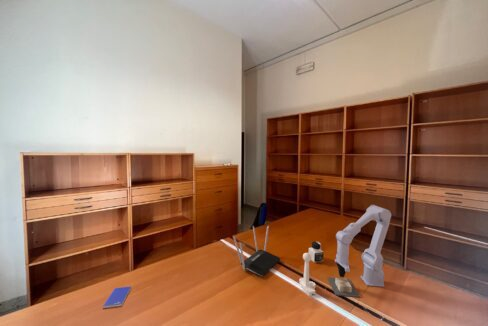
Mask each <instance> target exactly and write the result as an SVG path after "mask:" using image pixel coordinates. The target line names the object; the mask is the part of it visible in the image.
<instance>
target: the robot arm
mask: <svg viewBox="0 0 488 326" xmlns="http://www.w3.org/2000/svg"><path fill="white" fill-rule="evenodd" d="M391 219H392V213H391V211H390V210H389V209H386V208H384V207H380V206H377V205H376V204H370V206H369V207H367V208H366V211H365V213H364V214H363V215H361V217H360V218H359V219H358V220H357V221H356V222H351V223H349V224H348V225H347V226H346V227H344V229H343V230H338V231H337V232H336V234H335V238H336V242H337V245H336V246H337V250H336V254H335V259H334V263H335V264H336V266H337V271H338V275H339V278H345V276H346V273H350V270H351V269H350V265H349V264H350V262H349V257H350V256H349V252H350V244H351V243H352V241H353V240H354V237H355V236H356V235H358V233H361V228H363V227H364V226H365V225H367V224H368V223H370V221H371V222H372V221H375V222H376V226H375V228H374V229H375V230H374V232H373V235H372V238H371V242H370V245H369V247H368V248H365V249H364V252H362V254H361V256H360V257H361V260H362V264H363V275H360V279H361V280H362V282H364V284H365V285H366V286H369V287H370V286H371V287H381V288H382V287H385V272H384V269H383V265H384V257H383V255H382V253H381V251H382V248H383V245H384V242H385V239H386V236H387V232H388V230H389V227H390V223H391V222H390V221H391Z"/></svg>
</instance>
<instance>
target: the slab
mask: <svg viewBox="0 0 488 326" xmlns="http://www.w3.org/2000/svg"><path fill="white" fill-rule="evenodd" d="M334 278H335V283H336V285H337V287H338V289H339V291H340V292H352V287H351V285H350V283H349V282H348V280H347V279H348V278H345V277H334Z"/></svg>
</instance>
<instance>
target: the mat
mask: <svg viewBox="0 0 488 326" xmlns="http://www.w3.org/2000/svg"><path fill="white" fill-rule="evenodd" d="M335 278H336V277H327V280H328V283H329V284H330V287H331V289H332V291H333V293H334V295H335V296H338V297H339V296H340V297H347V298H348V297H349V298H361V295H360V293H358V291H357V289H356V288H355V285H354V284H353V283H352V282H351V280H350V279H349V278H346V279H347V280H348V282H349V283H350V285H351V287H352V292H340V291H339V289H338V287H337V285H336V283H335Z"/></svg>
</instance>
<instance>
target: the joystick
mask: <svg viewBox="0 0 488 326" xmlns="http://www.w3.org/2000/svg"><path fill="white" fill-rule="evenodd" d="M302 259H303V261H304V269H303V277H300V278H299V280H298V282H299V285H300V288H301V290H302V291H303V292H304V293H305V294H306V295H307V296H309V297H311V296H313V295H316V290H315V289H316V283H315V282H313V281H311V280H310V262H311V261H312V260H311V255H310V254H309V252H304V253H303V255H302Z"/></svg>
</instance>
